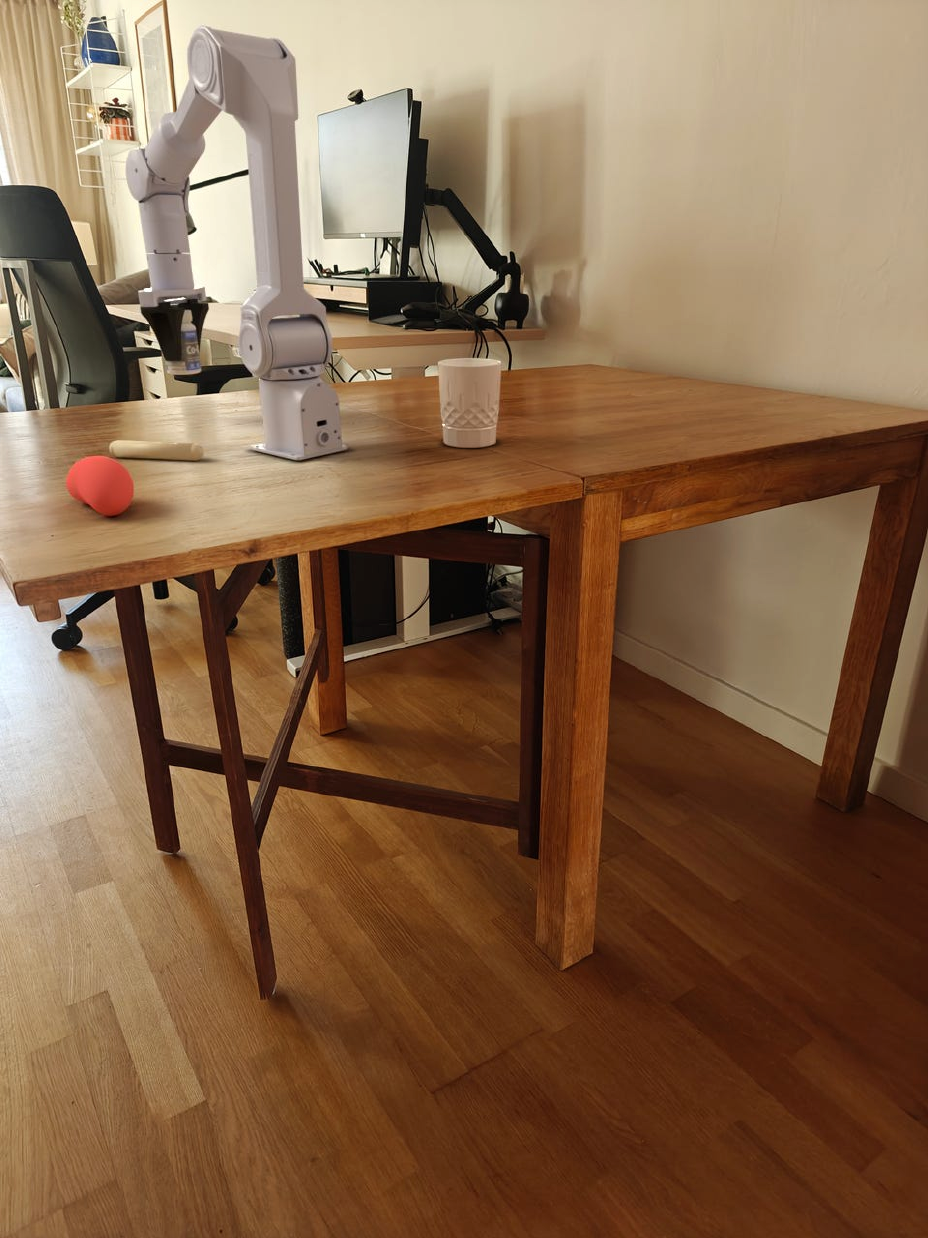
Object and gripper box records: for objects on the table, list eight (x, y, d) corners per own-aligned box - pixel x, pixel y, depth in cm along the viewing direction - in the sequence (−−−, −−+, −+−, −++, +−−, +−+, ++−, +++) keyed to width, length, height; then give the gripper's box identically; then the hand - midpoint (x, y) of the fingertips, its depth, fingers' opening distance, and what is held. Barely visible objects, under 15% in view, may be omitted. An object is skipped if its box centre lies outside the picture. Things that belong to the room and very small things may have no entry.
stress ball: (139, 506, 86) (103, 452, 84) (152, 494, 78) (112, 434, 76) (93, 532, 84) (55, 477, 82) (102, 522, 76) (59, 461, 74)
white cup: (506, 438, 109) (507, 358, 105) (492, 451, 102) (493, 366, 98) (449, 434, 111) (448, 357, 107) (431, 447, 104) (429, 364, 100)
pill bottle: (195, 375, 117) (187, 311, 113) (162, 375, 117) (153, 311, 113) (206, 370, 121) (198, 308, 118) (174, 370, 121) (165, 309, 118)
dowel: (208, 457, 99) (205, 441, 98) (200, 463, 98) (197, 447, 97) (117, 453, 102) (113, 437, 101) (108, 459, 100) (104, 443, 99)
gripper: (168, 253, 120) (182, 351, 125) (110, 254, 107) (128, 364, 112) (214, 252, 119) (225, 352, 124) (161, 253, 106) (176, 364, 111)
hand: (182, 358), depth 118 cm, fingers closed on pill bottle, 5 cm apart
